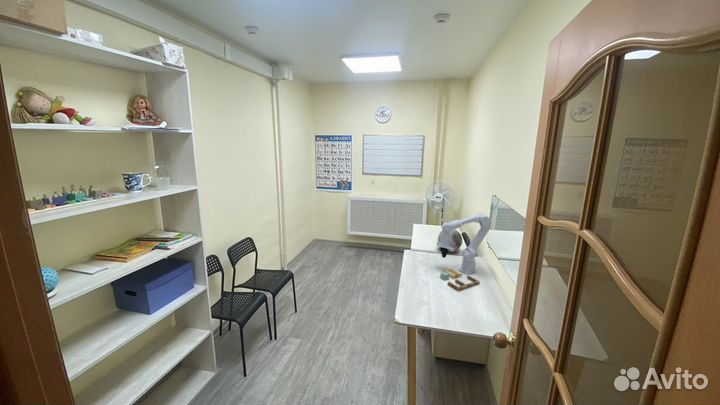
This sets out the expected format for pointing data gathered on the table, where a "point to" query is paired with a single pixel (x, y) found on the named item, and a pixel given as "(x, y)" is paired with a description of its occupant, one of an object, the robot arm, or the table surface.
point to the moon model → (453, 239)
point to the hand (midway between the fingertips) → (443, 257)
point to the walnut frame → (464, 286)
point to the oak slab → (453, 273)
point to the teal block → (444, 276)
